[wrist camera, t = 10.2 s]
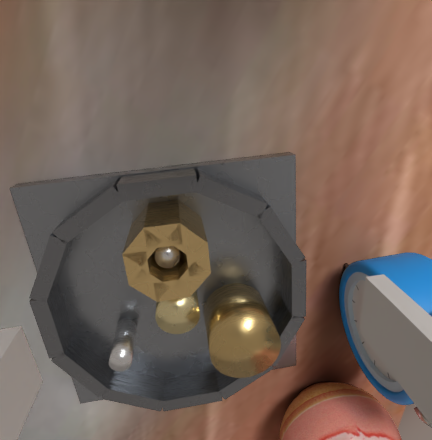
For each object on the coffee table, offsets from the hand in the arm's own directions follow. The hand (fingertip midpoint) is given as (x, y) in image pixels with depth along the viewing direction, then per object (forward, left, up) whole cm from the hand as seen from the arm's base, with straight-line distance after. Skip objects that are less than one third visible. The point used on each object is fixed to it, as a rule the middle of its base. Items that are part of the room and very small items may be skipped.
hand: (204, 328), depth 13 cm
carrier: (+10, -2, -20) cm, 22 cm away
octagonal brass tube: (+4, -2, -19) cm, 19 cm away
